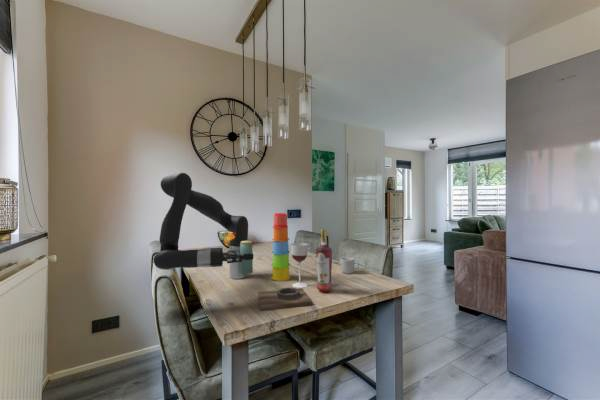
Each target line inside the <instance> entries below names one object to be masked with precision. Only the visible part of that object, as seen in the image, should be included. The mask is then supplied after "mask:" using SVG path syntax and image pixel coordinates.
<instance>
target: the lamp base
mask: <svg viewBox="0 0 600 400" xmlns="http://www.w3.org/2000/svg"><path fill="white" fill-rule="evenodd" d="M257 298H258V302H259V306H260V311H267V310H270V311H271V310H278V309H286V308H287V309H288V308H297V307H305V306H306V307H307V306H313V301H312V299H311V298H310V297H309V295H308V294H307V293H306V291H305V290H304V287H303V288H297V287H282V288H280V289H278V290H269V291H258V292H257Z"/></svg>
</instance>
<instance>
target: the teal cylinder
mask: <svg viewBox="0 0 600 400" xmlns="http://www.w3.org/2000/svg"><path fill="white" fill-rule="evenodd" d="M252 252H253V241H252V240H247V241H241V243H240V254H252ZM253 260H254V258H253V259H252V260H244V261H242V262H240V273H241V274H247V275H248V274H249V275H250V274H252V273H253V272H254V271H253V268H254V267H253V266H254V264H253V262H254V261H253Z"/></svg>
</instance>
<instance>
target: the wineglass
mask: <svg viewBox="0 0 600 400" xmlns="http://www.w3.org/2000/svg"><path fill="white" fill-rule="evenodd" d="M308 250H309V244H308V243H307V242H293V243H290V251H291V252H290V253H291V256H292V259H293V260H295V261H296V262H298V282H296V283H295V282H294V283H292V285H291V286H292V288H296V289H299V288H303V289H304V288H306V287H308V283H305V282H302V281H301V263H302V262H304V261H305V260H306V259H307V256H308Z"/></svg>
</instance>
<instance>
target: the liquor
mask: <svg viewBox="0 0 600 400" xmlns="http://www.w3.org/2000/svg"><path fill="white" fill-rule="evenodd" d="M320 234H321V238H320V239H321V240H320V246H318V247H317V248H316V249H315V255H316V257H315V258H316V269H317V271H316V273H317V288H316V289H317V290H318V291H319V292H321V293H323V294H324V293H329V292H330V291H332V289H333V287H332V268H333V267H332V265H333V249H332V248H331V247H330V246H328V240H327V239H328V238H327V236H328V235H327V234H328V230H327V228H325V229H324V228H321V229H320Z"/></svg>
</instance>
